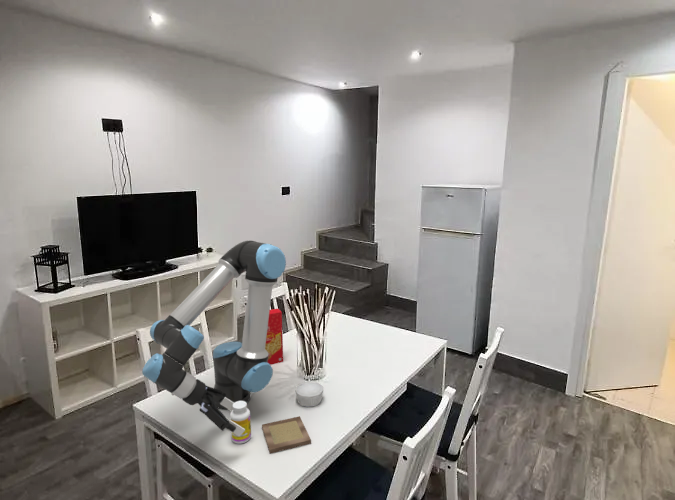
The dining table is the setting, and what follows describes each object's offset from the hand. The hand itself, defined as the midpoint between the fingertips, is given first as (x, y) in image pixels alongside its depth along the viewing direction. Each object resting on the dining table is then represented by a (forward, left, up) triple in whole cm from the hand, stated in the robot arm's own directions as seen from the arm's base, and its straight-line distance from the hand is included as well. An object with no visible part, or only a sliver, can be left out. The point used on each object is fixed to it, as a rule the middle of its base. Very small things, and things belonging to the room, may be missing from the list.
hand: (239, 420), depth 140 cm
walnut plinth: (+4, +15, -7) cm, 17 cm away
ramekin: (-14, +29, -7) cm, 33 cm away
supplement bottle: (-1, 0, -7) cm, 7 cm away
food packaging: (-51, +19, -7) cm, 55 cm away
